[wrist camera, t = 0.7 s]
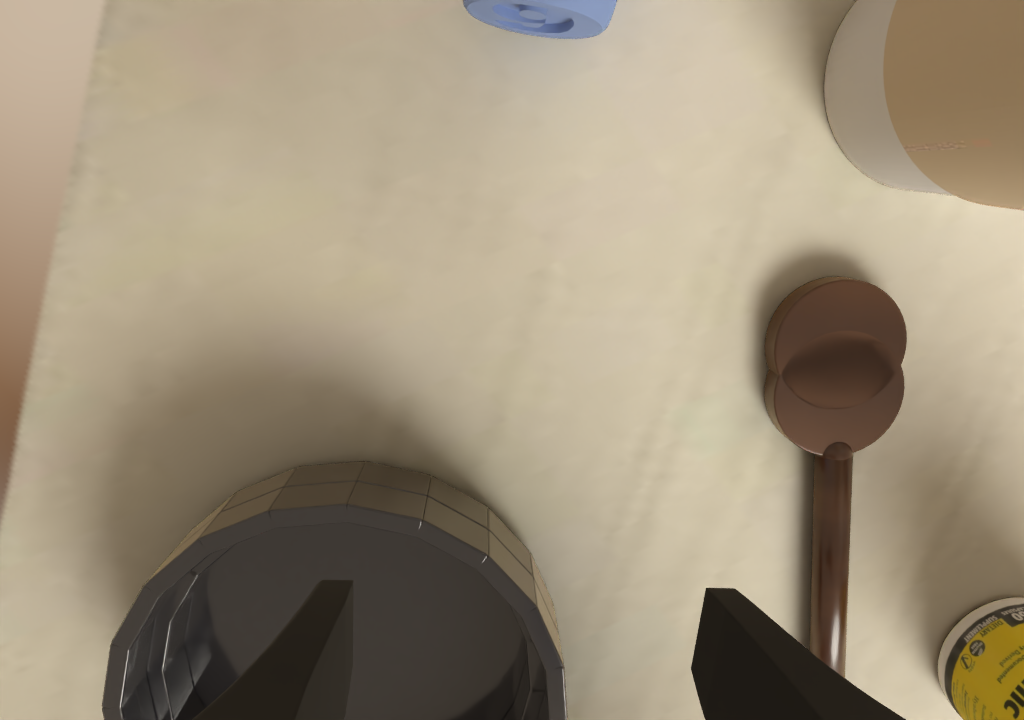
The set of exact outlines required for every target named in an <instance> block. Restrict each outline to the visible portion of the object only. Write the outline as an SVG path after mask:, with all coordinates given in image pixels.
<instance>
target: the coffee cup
mask: <svg viewBox="0 0 1024 720" xmlns="http://www.w3.org/2000/svg"><path fill="white" fill-rule="evenodd" d="M824 96H825V106H826V112H827V117H828V121H829V124H830V127H831V130H832V133H833V135H834V137H835V139H836V141H837V143H838V145H839V147H840V148H841V150H842V151H843V153H844V154H845V156H846V157H847V158H848V159H849V160H850V162H851V163H852V164H853V165H854V166H855V167H856V168H857V169H859V170H860V171H861V172H862V173H864V174H865V175H866V176H868V177H869V178H871V179H873V180H875V181H877V182H879V183H881V184H883V185H886V186H889V187H892V188H896V189H901V190H909V191H917V192H925V193H933V194H942V195H950V196H957V197H959V198H962V199H964V200H967V201H970V202H974V203H977V204H982V205H988V206H995V207H1003V208H1010V209H1018V210H1024V0H857V1H856V2H855V3H854V5H853V6H852V7H851V9H850V10H849V11H848V13H847V14H846V16H845V18H844V19H843V21H842V23H841V25H840V27H839V29H838V31H837V33H836V35H835V37H834V40H833V43H832V46H831V49H830V52H829V56H828V60H827V65H826V71H825V81H824Z"/></svg>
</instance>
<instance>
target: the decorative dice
mask: <svg viewBox="0 0 1024 720" xmlns="http://www.w3.org/2000/svg"><path fill="white" fill-rule="evenodd" d="M616 2H617V0H463V3H464V7H465V8H466V9H467V11H468V12H469V13H470V14H471V15H472V16H473V17H475V18H476V19H478V20H480V21H482V22H484V23H487V24H489V25H492V26H495V27H498V28H501V29H505V30H509V31H513V32H517V33H522V34H527V35H533V36H540V37H548V38H562V39H578V38H588V37H593V36H596V35H598V34H600V33H601V32H603V31H604V30H605V29H606V28H607V27H608V25H609V22H610V20H611V17H612V15H613V12H614V9H615V5H616Z"/></svg>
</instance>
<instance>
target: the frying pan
mask: <svg viewBox="0 0 1024 720" xmlns="http://www.w3.org/2000/svg"><path fill="white" fill-rule="evenodd" d="M321 580H353V668H352V674H351V681H350V688H349V695H348V701H347V707H346V714H345V718H344V720H568V717H567V701H566V686H565V670H564V663H563V657H562V651H561V645H560V639H559V634H558V628H557V622H556V616H555V610H554V605H553V602H552V600H551V598H550V595H549V593H548V591H547V588H546V586H545V584H544V582H543V579H542V577H541V575H540V573H539V570H538V568H537V566H536V564H535V561H534V559H533V557H532V555H531V553H530V552H529V550H528V549H527V548H526V547H525V546H524V545H523V544H522V543H521V542H520V541H519V540H518V538H517V537H516V536H515V535H514V534H513V533H512V532H511V531H510V530H509V529H508V528H507V527H506V526H505V524H504V523H503V522H502V521H501V520H500V519H499V518H498V517H497V516H496V515H495V514H494V513H493V512H492V510H491V509H489V508H487V506H486V505H484V504H482V503H480V502H478V501H477V500H475V499H473V498H471V497H469V496H468V495H466V494H464V493H462V492H460V491H459V490H457V489H455V488H453V487H451V486H450V485H448V484H446V483H444V482H442V481H441V480H439V479H437V478H435V477H434V476H431V475H428V474H424V473H419V472H415V471H410V470H405V469H401V468H396V467H391V466H387V465H382V464H377V463H373V462H368V461H366V462H365V461H359V462H346V463H334V464H322V465H310V466H300V467H298V468H294V469H291V470H289V471H286V472H284V473H281V474H279V475H276V476H274V477H271V478H269V479H267V480H264V481H262V482H259V483H257V484H254V485H252V486H249V487H247V488H244V489H242V490H239V491H238V492H236V493H234V494H233V495H232V496H231V497H230V498H229V499H227V500H226V501H225V502H224V503H223V504H222V505H220V506H219V507H218V508H217V509H216V510H214V511H213V512H212V513H211V514H210V515H209V516H207V517H206V518H205V519H204V520H203V521H202V522H200V523H199V524H198V525H197V526H196V527H195V528H193V529H192V530H191V531H190V532H189V533H188V535H187V536H186V537H185V538H184V539H183V540H182V541H181V543H180V544H179V545H178V546H177V547H176V548H175V549H174V551H173V552H172V553H171V554H170V555H169V556H168V557H167V559H166V560H165V561H164V562H163V563H162V564H161V566H160V567H159V568H158V569H157V570H156V571H155V572H154V574H153V575H152V576H151V577H150V578H149V579H148V581H147V582H146V583H145V584H144V585H143V587H142V588H141V590H140V592H139V594H138V595H137V597H136V599H135V601H134V603H133V604H132V606H131V608H130V610H129V611H128V613H127V615H126V617H125V618H124V620H123V622H122V624H121V626H120V627H119V629H118V631H117V633H116V634H115V636H114V638H113V640H112V643H111V645H110V652H109V659H108V666H107V673H106V680H105V687H104V694H103V701H102V707H103V708H102V711H103V716H104V720H192V719H193V718H195V717H196V716H197V715H198V714H200V713H201V712H202V711H203V710H204V709H205V708H206V707H208V706H209V705H210V704H211V703H212V702H213V701H214V700H216V699H217V698H218V697H219V696H220V695H221V694H222V693H223V692H224V691H225V690H226V689H227V688H229V687H230V686H231V685H232V684H233V683H234V682H235V681H236V680H237V679H238V678H239V677H240V676H241V675H242V674H243V673H244V672H245V670H246V669H247V668H248V667H249V666H250V665H251V664H252V663H253V662H254V661H255V660H256V659H257V658H258V657H259V656H260V655H261V654H262V653H263V652H264V650H265V649H266V648H267V647H268V646H269V645H270V644H271V642H272V641H273V640H274V639H275V638H276V636H277V635H278V634H279V633H280V632H281V631H282V629H283V628H284V627H285V626H286V625H287V623H288V622H289V621H290V620H291V618H292V617H293V616H294V615H295V613H296V612H297V611H298V609H299V608H300V607H301V606H302V604H303V603H304V602H305V600H306V599H307V597H308V596H309V595H310V593H311V592H312V590H313V589H314V587H315V586H316V585H317V584H318V583H319V582H320V581H321Z"/></svg>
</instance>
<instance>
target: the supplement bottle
mask: <svg viewBox="0 0 1024 720" xmlns="http://www.w3.org/2000/svg"><path fill="white" fill-rule="evenodd" d="M938 676H939V682H940V685H941V688H942V690H943V693H944V695H945V696H946V698H947V700H948V701H949V703H950V704H951V705H952V707H953V708H954V709H955V710H956V712H957V713H958V714H959V715H960V716H961V717H962V719H963V720H1024V598H1020V597H1016V598H1006V599H1001V600H997V601H994V602H990V603H988V604H986V605H983V606H981V607H979V608H977V609H976V610H974V611H972V612H971V613H969V614H968V615H966V616H965V617H964V618H963V619H962V620H961V621H960V622H959V623H958V624H957V625H956V626H955V627H954V628H953V629H952V630H951V632H950V633H949V635H948V636H947V638H946V639H945V641H944V643H943V645H942V648H941V651H940V655H939V660H938Z"/></svg>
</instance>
